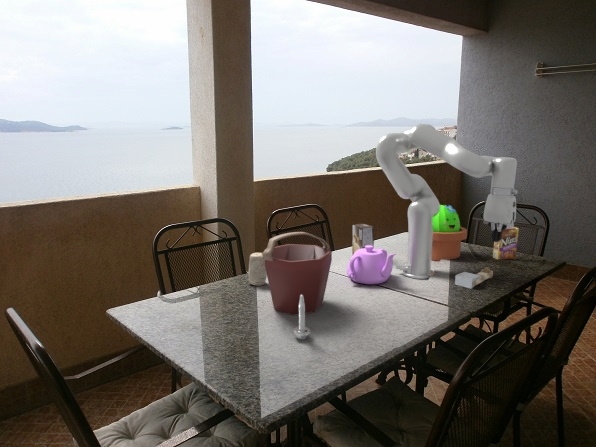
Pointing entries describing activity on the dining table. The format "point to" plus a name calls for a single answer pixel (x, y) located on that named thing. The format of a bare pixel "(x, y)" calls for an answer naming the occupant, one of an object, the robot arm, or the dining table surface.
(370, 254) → the teapot
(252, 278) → the carving
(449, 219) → the potted cactus
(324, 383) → the dining table surface
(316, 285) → the bucket
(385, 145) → the robot arm
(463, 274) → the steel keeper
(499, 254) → the candy box
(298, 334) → the screw
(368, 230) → the coffee box
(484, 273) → the oak link
